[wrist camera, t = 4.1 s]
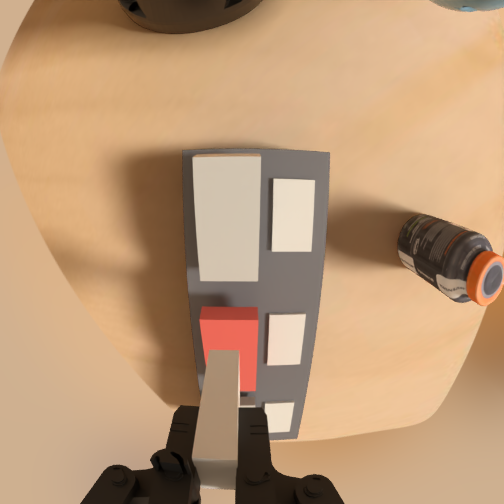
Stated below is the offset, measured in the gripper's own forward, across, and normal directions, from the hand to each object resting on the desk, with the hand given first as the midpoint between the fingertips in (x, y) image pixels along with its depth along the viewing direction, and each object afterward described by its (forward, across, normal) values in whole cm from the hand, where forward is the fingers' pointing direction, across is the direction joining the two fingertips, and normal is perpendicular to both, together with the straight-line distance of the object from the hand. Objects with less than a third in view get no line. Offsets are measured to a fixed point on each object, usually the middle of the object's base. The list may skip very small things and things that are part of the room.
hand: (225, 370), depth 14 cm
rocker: (+6, 0, +7) cm, 9 cm away
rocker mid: (+6, 0, -3) cm, 7 cm away
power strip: (+13, +2, -3) cm, 13 cm away
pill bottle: (+13, +19, +4) cm, 23 cm away
